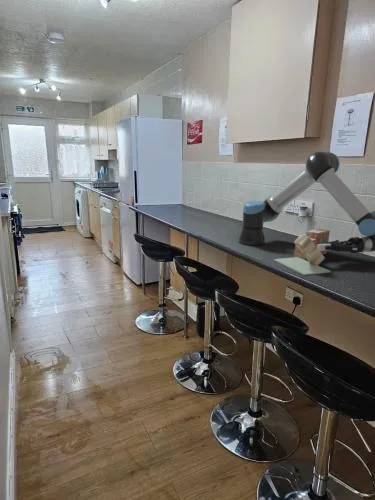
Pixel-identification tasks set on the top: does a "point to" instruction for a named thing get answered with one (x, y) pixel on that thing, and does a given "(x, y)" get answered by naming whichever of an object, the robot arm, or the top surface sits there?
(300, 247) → the maple block
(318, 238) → the stack of blocks
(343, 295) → the top surface
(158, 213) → the top surface
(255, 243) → the robot arm
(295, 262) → the sage cutting board
